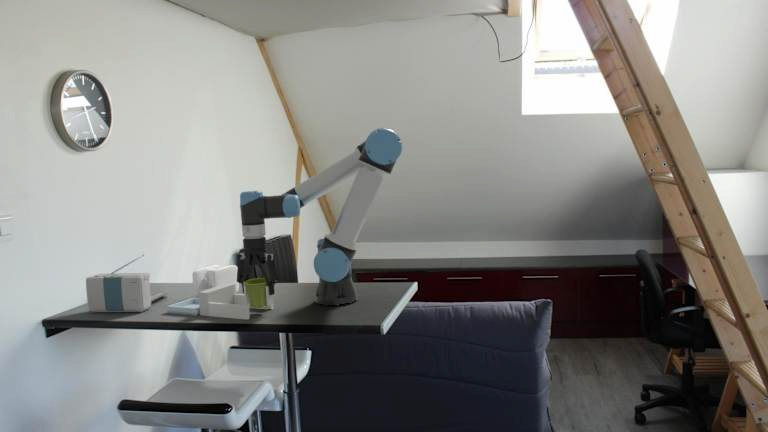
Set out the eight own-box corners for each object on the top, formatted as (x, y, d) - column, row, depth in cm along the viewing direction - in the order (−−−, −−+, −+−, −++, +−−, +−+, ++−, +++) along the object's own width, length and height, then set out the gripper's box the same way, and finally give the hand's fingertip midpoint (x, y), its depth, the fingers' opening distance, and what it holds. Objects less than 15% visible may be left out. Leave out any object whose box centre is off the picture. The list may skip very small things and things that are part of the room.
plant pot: (270, 308, 193) (268, 283, 192) (242, 310, 193) (240, 284, 193) (276, 302, 203) (274, 277, 202) (248, 303, 203) (247, 278, 202)
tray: (223, 306, 211) (222, 299, 211) (196, 315, 199) (196, 308, 199) (194, 304, 217) (194, 297, 217) (167, 313, 205) (166, 306, 205)
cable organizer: (215, 302, 219) (212, 271, 218) (192, 300, 223) (190, 270, 222) (239, 293, 233) (238, 264, 232) (218, 291, 237) (216, 263, 236)
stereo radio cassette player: (87, 314, 209) (82, 258, 207) (101, 308, 217) (96, 254, 215) (142, 313, 206) (137, 257, 204) (154, 308, 214) (150, 253, 212)
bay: (273, 308, 204) (272, 286, 204) (247, 319, 191) (245, 295, 191) (227, 305, 213) (226, 283, 212) (200, 315, 200) (198, 292, 199)
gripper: (221, 238, 197) (227, 304, 199) (273, 238, 188) (278, 308, 190) (236, 235, 204) (241, 299, 206) (287, 235, 195) (291, 302, 197)
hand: (259, 303), depth 198 cm, fingers closed on plant pot, 8 cm apart
